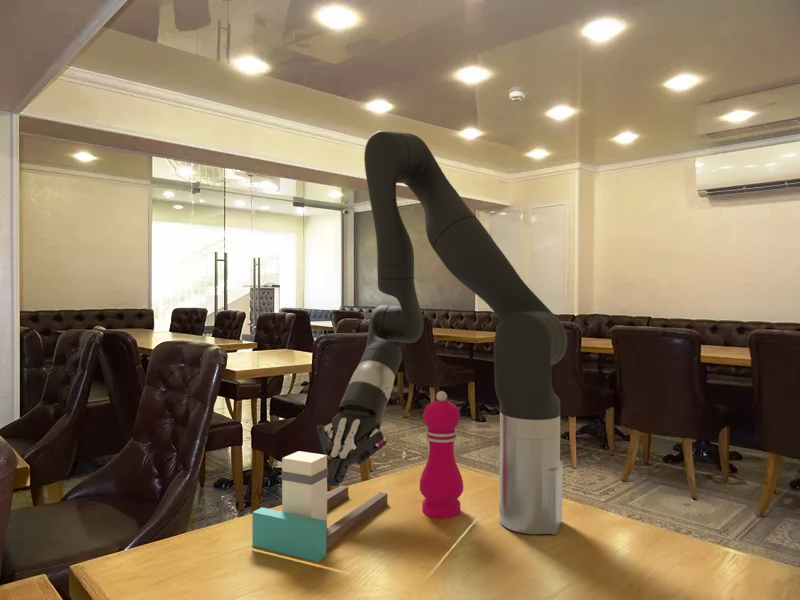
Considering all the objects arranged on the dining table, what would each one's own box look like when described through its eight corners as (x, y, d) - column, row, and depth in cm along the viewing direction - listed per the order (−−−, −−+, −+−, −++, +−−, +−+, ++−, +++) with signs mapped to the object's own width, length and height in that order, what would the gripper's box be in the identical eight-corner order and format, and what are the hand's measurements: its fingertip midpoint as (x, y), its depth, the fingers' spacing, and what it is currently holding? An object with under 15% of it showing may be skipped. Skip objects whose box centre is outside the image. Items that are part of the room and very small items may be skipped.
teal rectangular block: (326, 557, 76) (326, 520, 76) (317, 563, 74) (317, 526, 74) (261, 541, 81) (261, 507, 81) (252, 547, 79) (252, 512, 79)
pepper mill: (463, 505, 95) (463, 388, 95) (463, 522, 88) (464, 395, 88) (420, 503, 96) (421, 387, 96) (417, 520, 89) (418, 394, 88)
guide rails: (387, 505, 95) (387, 493, 95) (314, 560, 75) (314, 545, 75) (341, 496, 99) (341, 485, 99) (259, 547, 79) (259, 533, 79)
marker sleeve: (327, 536, 82) (328, 455, 82) (311, 548, 78) (311, 462, 78) (298, 530, 84) (298, 450, 84) (281, 541, 80) (281, 458, 80)
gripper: (327, 377, 98) (286, 465, 87) (395, 382, 93) (360, 477, 82) (343, 402, 103) (305, 489, 92) (408, 408, 98) (376, 501, 87)
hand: (331, 483), depth 87 cm, fingers closed
